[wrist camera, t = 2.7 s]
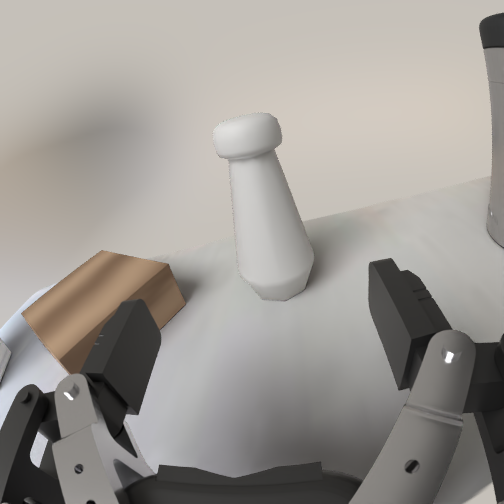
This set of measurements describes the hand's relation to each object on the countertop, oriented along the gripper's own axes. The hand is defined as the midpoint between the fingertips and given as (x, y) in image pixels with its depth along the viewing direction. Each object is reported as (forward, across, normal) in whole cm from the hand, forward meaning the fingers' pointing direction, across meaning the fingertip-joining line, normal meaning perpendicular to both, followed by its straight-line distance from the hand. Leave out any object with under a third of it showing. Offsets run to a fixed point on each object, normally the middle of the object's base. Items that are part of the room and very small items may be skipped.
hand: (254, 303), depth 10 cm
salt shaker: (+11, 0, +8) cm, 14 cm away
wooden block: (+9, +15, +8) cm, 19 cm away
